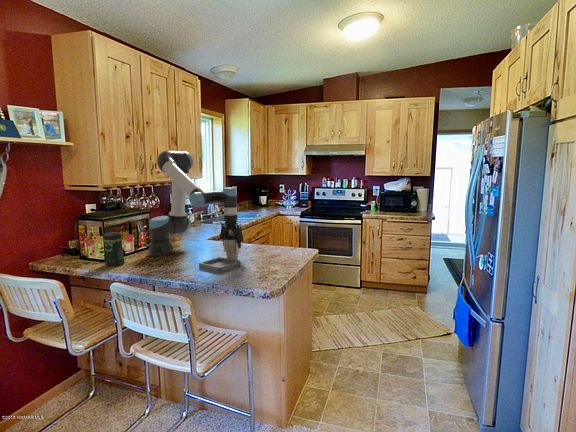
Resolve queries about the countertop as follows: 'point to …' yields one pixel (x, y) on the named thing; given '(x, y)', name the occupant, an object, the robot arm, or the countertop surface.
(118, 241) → the coffee jar
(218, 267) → the tray
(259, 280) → the countertop surface
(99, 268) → the countertop surface
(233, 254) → the coffee cup
